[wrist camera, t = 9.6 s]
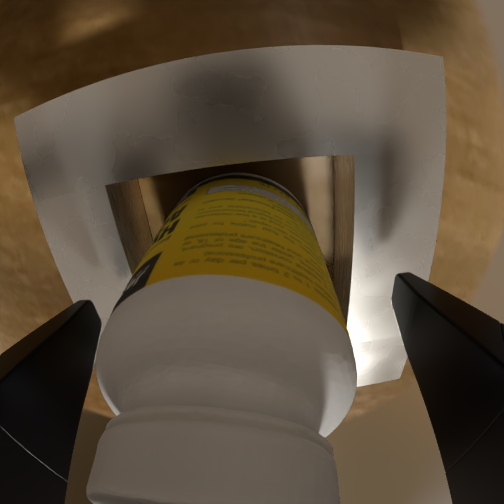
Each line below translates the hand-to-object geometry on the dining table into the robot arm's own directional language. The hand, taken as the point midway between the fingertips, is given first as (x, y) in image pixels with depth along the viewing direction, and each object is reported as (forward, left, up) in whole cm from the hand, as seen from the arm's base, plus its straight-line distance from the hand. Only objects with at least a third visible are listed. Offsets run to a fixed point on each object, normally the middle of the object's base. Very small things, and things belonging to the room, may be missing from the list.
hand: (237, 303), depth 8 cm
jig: (0, 0, -4) cm, 4 cm away
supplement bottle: (0, 0, -4) cm, 4 cm away
